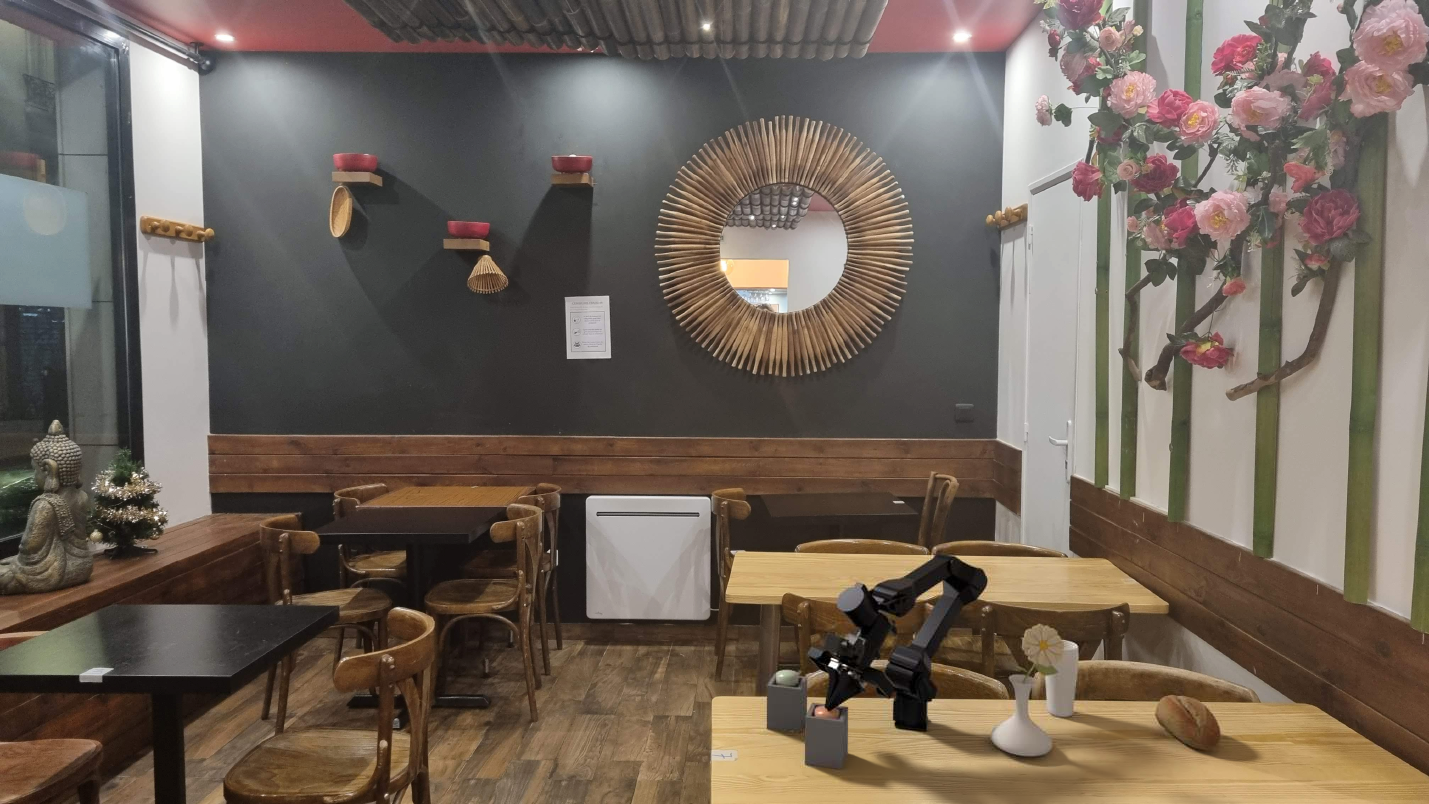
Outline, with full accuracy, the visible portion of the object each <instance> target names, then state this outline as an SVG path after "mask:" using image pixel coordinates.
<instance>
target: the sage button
mask: <svg viewBox="0 0 1429 804" xmlns="http://www.w3.org/2000/svg"><path fill="white" fill-rule="evenodd" d="M775 673H776V685H780V686H788V687H796V688H798V679H799V676H800V675H799V674H800V673H799V672H797V671H794V670H791V669H782V670H779V671H777V672H775Z"/></svg>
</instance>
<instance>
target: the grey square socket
mask: <svg viewBox="0 0 1429 804" xmlns="http://www.w3.org/2000/svg"><path fill="white" fill-rule="evenodd" d="M776 673H777V672H774V674H773V675H772V676H771V678H770V680H769V681H768V683H767V684H766V729H767V728H768V729H767V730H774V729H775V731H781V730H784V731H783V732H788V731H793V732H792V733H796V732H801V733H802V730H803V728H804V726H805V724H804V723H805V716H806V714H807V712H808V677H807V676H801V675H799V679H798V688H796V687H788V686H780V685H776ZM803 725H804V726H803ZM802 727H803V728H802ZM785 730H786V731H785Z"/></svg>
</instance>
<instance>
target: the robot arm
mask: <svg viewBox="0 0 1429 804" xmlns="http://www.w3.org/2000/svg"><path fill="white" fill-rule="evenodd" d="M940 583H942V591H943V592H942V594H941V596H940V598H939V599H938V601H937V602H936V604H935V605H934V607H933V609H932V610H931V612H930V613H929V615H928V616H927V618H926V619H925V621H924V623H923V624H922V626H921V628H920V629H919V631H918V632H917V634H916V636H915V637H914V639H913V640H912V642H911V644H909V645H908V646H906V647H904V646H902V645H898V646H897V647H895V649H894V650H893V653H892V655H891V656H890V657H889V658H888V659H887V664H886V666H885V669H884V671H882V670H880V669H877V668H875V667H872V664H873V662H874V660H877V661H879V660H880V658H881V657H882V655H881V654H880V653H879V652H880V649H881V648H882V646H883V644H884V643H885V641H886V639H887V637H888V635H889V634H891V635H894V636H896V635H897V634H898V628H897V625H896V620H894V619H890V618H889V617H888V616H887V614H888V615H890V616H893V617H897V618H903V617H905V616H906V615H907V614H909V612H911V610H913V608H914V607H916V602H917V599H918V598H920V597H921V596H922V595H923V594H925V593H926V592H928V591H930V590H931V589H933V588H934V587H935V586H937V585H939V584H940ZM987 586H988V577H987V575H986V573H985V571H984V569H983V568H981V567H977V566H973V565H971V564H969V563H966V562H965V561H963V560H961V559H960V558H958V557H957V556H956V555H952V554H951V555H950V554H946V553H942V552H941V553H936V554H934V555H933V557H932V558H931V559H930V560H928V561H927V562H925V563H923V564H922V565H921V566H920V565H919V566H918V567H917V568H915V569H914V570H912V571H911V572H909V573H907V574H906V575H904V576H902V577H900V578H893V579H892V578H891V579H887V580H884V581H881V582H879V583H877V584H876V585H875V586H874V587H873V588H871V589H868V587H867V586H866V584H865V583H861V582H855V584H854V586H851V587H848V588H846V589H844V590H842V592H840V593H839V595H838V597H837V600H836V605H837V608H838V609H839V610H840V611H841V614H843V615H844V617H845V618H847V620H848V621H849V622H850V624H852V625H853V626H854V627H855V628H856V629H855V631H854V632H853V634H852V633H848V634H846V635H845V637H841V636H838V635H836V634H834V633H833V634H832V633H830V632H827V633H826V637H825V640H824V644H823V646H822V647H820V646H818V645H812V646H811V647H810V648H809V650H808V651H807V653H806V657H807V658H808V659H809V660H810V661H811V662H812V663H813V664H814V665H815V666H816V667H817V669H818V670H820V672H823V673H826V674H827V675H828V685H827V687H828V688H827V692H826V696H825V697H826V698H825V702H824V704H825V708H826V710H828V711H831V710H833V709H834V708H836V707H837V706H841V705H842V704H843V703H845V702H847V701H849V699H852V698H853V697H856V696H857V695H859V694H865V693H866V691H867V690H866V689H865V688H866V686H867V685H868V684H869V685H871V686H873V687H876V688H875V690H876V693H877V695H879V696H881V697H883V698H886V699H887V700H890V699H891V698H892V696H893V694H894V693H896V694H895V696H894V697H893V699H892V700H893V701H892V720H893V722H894V727H895V728H898V727H900V728H899V729H906V730H914V731H920V732H921V731H923V732H926V731H927V730H928V726H929V725H928V724H929V716H928V706H929V705H928V704H929V703H931V702H933V699H935V698H936V696H937V692H938V687H937V686H936V685H935V683H934V682H933V681H932V679H931V676H932V659H933V657H934V656H935V654H936V653H937V651H938V649H939V648H940V646H941V644H942V643H943V641H944V639H945V638H946V636H947V634H948V633H949V631H950V629H951V628H952V626H953V625H954V623H955V622H956V620H957V618H958V617H959V615H960V614H961V611H962V610H963V608H964V607H965V606H967V605H969V604H971V603H973V602H976V600H978V599H979V597H981V595H982V594H983V592H984V591H985V590H986V588H987ZM830 651H831V652H833V654H832V653H831V652H830ZM834 656H835V657H834ZM836 658H838V659H836Z"/></svg>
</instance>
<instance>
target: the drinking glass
mask: <svg viewBox="0 0 1429 804" xmlns="http://www.w3.org/2000/svg"><path fill="white" fill-rule="evenodd" d="M1061 641H1063V642H1064V649H1063V651H1064V654H1062V660H1061V661H1058V662H1057V663H1056V664H1053V663H1052V666H1053V667H1054V668H1055V669H1056V670H1057V671H1058V673H1056V674H1053V675H1047V676H1045V675H1044V679H1045V691H1046V692H1045V694H1046V695H1045V696H1046V697H1045V698H1046V711H1047V712H1048V713H1049V714H1050V715H1052V716H1055V717H1059V718H1070V717H1071V716H1072V715H1073V714H1074V704H1075V695H1076V694H1075V693H1076V689H1077V688H1076V686H1077V677H1078V672H1079V670H1078V669H1079V646H1078V644H1077V643H1075V642H1073V641H1070V640H1065V639H1061Z"/></svg>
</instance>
